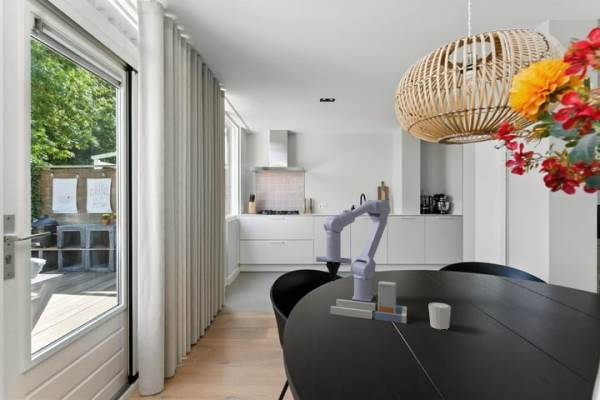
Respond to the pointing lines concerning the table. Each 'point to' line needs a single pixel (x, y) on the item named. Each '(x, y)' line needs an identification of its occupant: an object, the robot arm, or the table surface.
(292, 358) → the table surface
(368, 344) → the table surface
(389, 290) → the skincare box
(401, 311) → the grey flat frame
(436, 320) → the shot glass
